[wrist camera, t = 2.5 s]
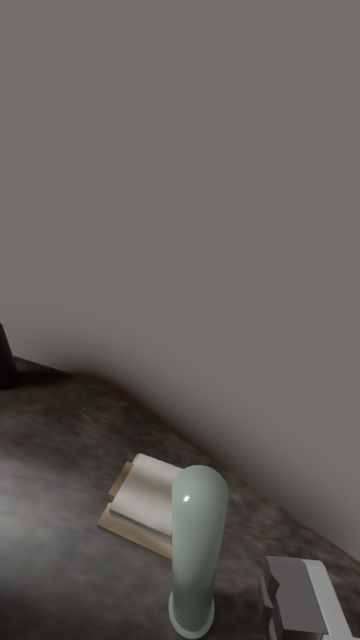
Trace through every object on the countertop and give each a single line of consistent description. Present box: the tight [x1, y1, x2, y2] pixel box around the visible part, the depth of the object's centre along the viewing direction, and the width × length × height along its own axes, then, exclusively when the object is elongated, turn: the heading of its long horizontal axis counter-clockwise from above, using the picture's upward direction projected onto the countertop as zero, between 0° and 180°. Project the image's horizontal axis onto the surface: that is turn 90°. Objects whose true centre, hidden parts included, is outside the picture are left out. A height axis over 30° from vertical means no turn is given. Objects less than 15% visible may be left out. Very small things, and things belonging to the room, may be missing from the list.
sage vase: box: [169, 465, 229, 640], centre depth 32 cm, size 6×6×26 cm
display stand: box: [97, 453, 184, 564], centre depth 49 cm, size 13×13×4 cm
